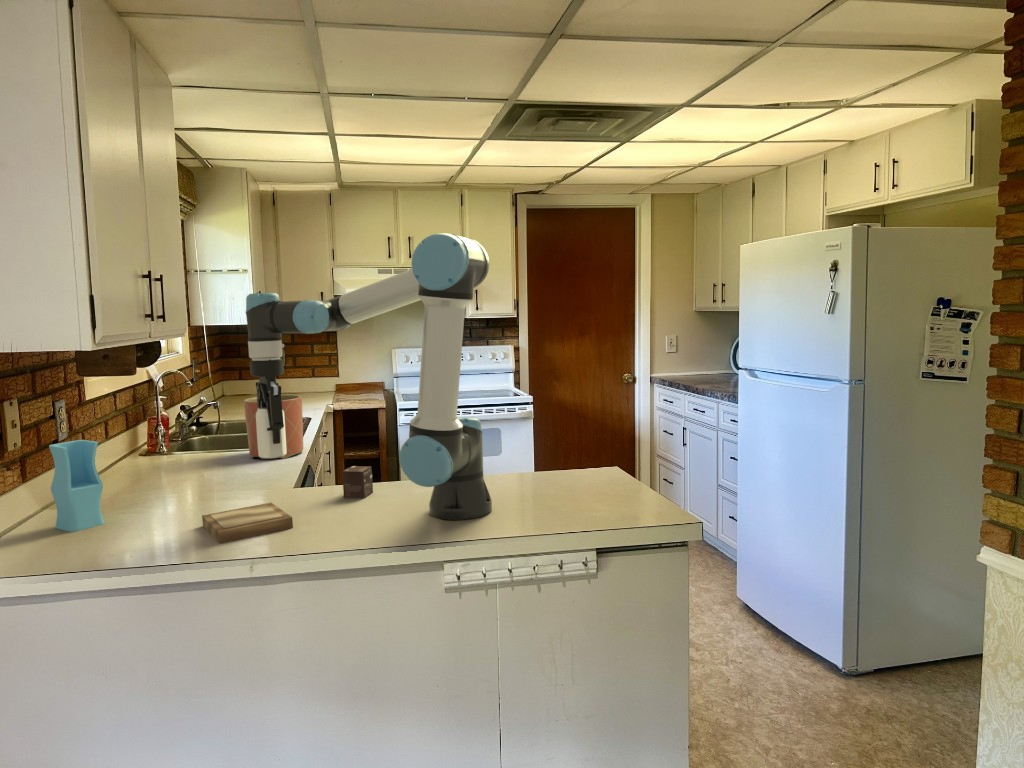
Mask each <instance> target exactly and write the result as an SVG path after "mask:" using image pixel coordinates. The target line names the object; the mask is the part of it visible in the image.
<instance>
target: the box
mask: <svg viewBox="0 0 1024 768" xmlns="http://www.w3.org/2000/svg"><path fill="white" fill-rule="evenodd" d="M372 469H373V468H372V466H371V465H369V466H363V465H362V466H359V465H353V466H352V465H351V466H350V467H347V468H346V469H344V470H342V471H341V472H342V475H341V476H342V488H343V489H342V490H343V498H344V499H347V498H348V499H365V498H367V497H368V496H370V495H372V494H373V493H374V487H373V486H374V483H373V471H372Z"/></svg>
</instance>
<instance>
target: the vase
mask: <svg viewBox="0 0 1024 768" xmlns="http://www.w3.org/2000/svg"><path fill="white" fill-rule="evenodd" d="M98 445H99V442H98V441H95V440H94V441H93V440H87V439H76V440H71V441H65V442H59V443H54V444H53V443H52V444H49V445H48V447H49V450H50V453H51V455H52V459H53V463H54V473H53V479H52V482H51V485H50V492H51V495H52V496H53V497H52V498H53V500H54V503H55V506H56V522H55V529H58V530H61V531H65V532H69V533H73V532H79V531H84V530H86V529H87V530H88V529H90V528H93V527H97V526H102V525H104V524H105V522H104V518H103V515H102V510H101V501H102V493H103V489H104V485H103V484H104V483H103V481H102V479H101V477H100V475H99V473H98V470H97V468H96V467H97V465H96V454H97V453H96V452H97V449H98Z"/></svg>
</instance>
